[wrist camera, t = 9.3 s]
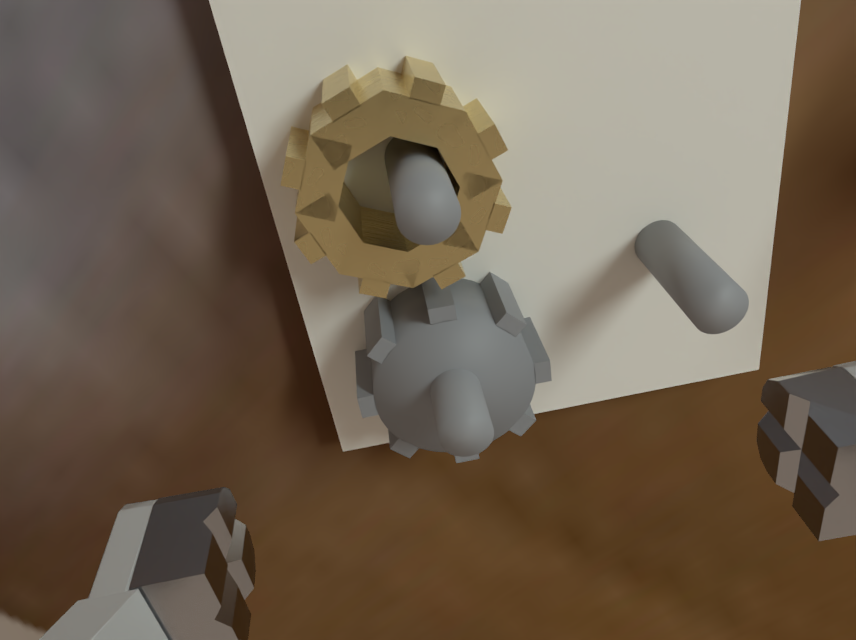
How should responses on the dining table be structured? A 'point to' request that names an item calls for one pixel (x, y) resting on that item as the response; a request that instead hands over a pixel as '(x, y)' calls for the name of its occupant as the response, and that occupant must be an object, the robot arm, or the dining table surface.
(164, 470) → the dining table surface
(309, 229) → the gear
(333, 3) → the gear board
